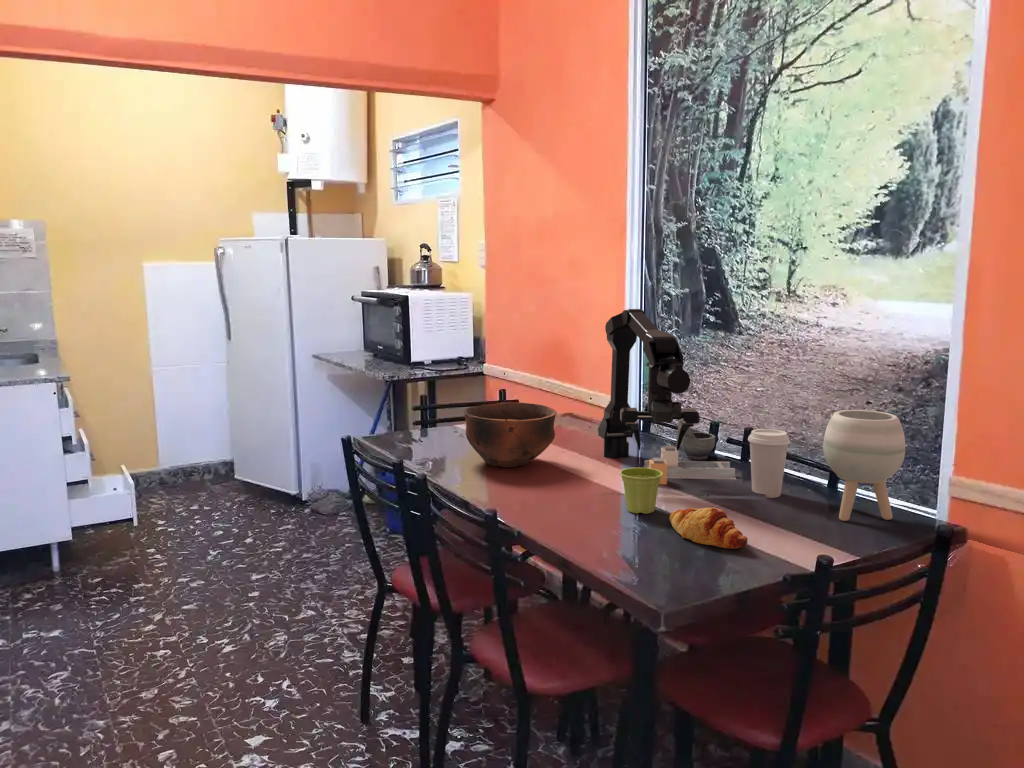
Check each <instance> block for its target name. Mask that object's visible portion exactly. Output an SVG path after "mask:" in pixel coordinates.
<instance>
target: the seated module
mask: <svg viewBox="0 0 1024 768" xmlns="http://www.w3.org/2000/svg"><path fill="white" fill-rule="evenodd" d="M679 454H680V453H679V450H678V451H677V450H676V446H674V445H663V447H660V458H663V460H666V462H667V467H678V461H679Z"/></svg>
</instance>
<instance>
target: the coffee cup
mask: <svg viewBox="0 0 1024 768" xmlns="http://www.w3.org/2000/svg"><path fill="white" fill-rule="evenodd" d="M747 437H748V438H747V442H749V452H750V456H749V457H750V474H751V475H750V476H751V491H752V492H754V493H756V495H755V496H756V497H760V498H766V499H767V498H769V499H771V498H772V499H773V498H775V499H776V498H778V497H779V498H780V497H781V495H782V488H783V481H784V473H785V466H786V460H787V459H786V458H787V452H788V446H789V444H790V443H791V441H790V437H789V436H788V433H787V432H786V431H784V430H781V429H774V428H755V429H752V430H751V432H750V433H749V435H748V436H747ZM757 494H758V495H757ZM759 494H760V495H759Z"/></svg>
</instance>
